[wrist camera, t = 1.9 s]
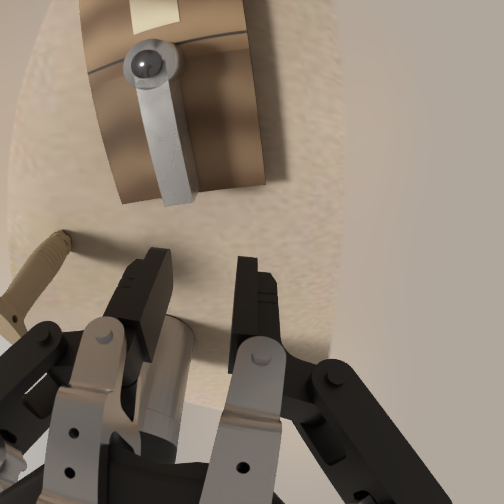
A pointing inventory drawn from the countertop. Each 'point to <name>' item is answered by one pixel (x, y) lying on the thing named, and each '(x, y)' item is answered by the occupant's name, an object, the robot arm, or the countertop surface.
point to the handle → (31, 284)
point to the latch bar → (164, 116)
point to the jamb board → (191, 83)
